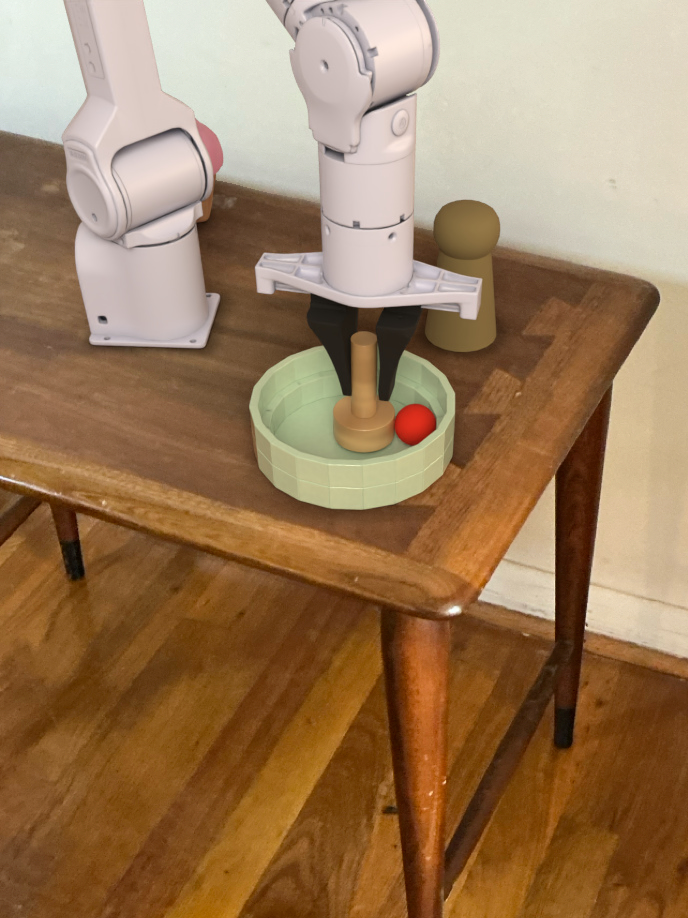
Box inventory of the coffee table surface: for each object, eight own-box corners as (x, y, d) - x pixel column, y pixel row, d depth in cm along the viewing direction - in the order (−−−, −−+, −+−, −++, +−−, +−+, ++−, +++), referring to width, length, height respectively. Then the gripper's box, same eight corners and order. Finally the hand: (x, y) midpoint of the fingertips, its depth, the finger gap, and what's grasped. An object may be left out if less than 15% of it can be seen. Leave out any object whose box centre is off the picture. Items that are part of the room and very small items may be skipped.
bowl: (242, 512, 69) (235, 461, 66) (269, 389, 80) (264, 339, 77) (451, 519, 69) (455, 468, 66) (452, 394, 79) (455, 345, 76)
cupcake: (197, 191, 104) (183, 90, 97) (247, 223, 99) (236, 119, 92) (119, 218, 99) (99, 114, 92) (168, 252, 95) (150, 145, 88)
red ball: (386, 431, 72) (419, 404, 71) (384, 415, 74) (416, 389, 74) (414, 460, 73) (447, 434, 72) (411, 444, 76) (442, 418, 75)
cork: (491, 356, 83) (502, 230, 76) (418, 347, 84) (421, 221, 76) (501, 317, 88) (512, 194, 80) (431, 308, 88) (436, 186, 81)
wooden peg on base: (322, 426, 74) (319, 331, 69) (374, 408, 76) (375, 314, 71) (352, 460, 72) (352, 364, 66) (405, 440, 73) (409, 345, 68)
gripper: (494, 191, 64) (480, 371, 74) (272, 167, 66) (285, 345, 76) (477, 245, 59) (464, 430, 69) (237, 217, 61) (256, 401, 71)
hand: (369, 390), depth 72 cm, fingers closed on wooden peg on base, 2 cm apart
